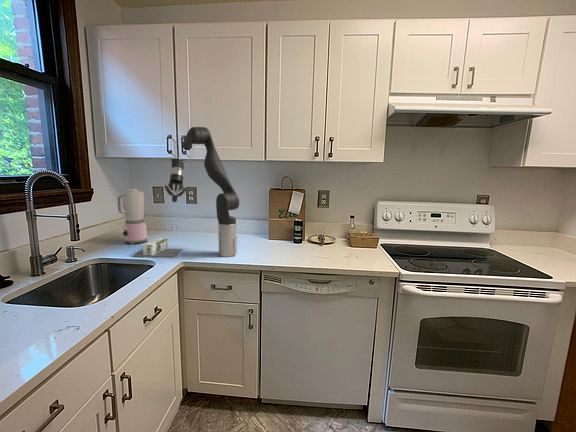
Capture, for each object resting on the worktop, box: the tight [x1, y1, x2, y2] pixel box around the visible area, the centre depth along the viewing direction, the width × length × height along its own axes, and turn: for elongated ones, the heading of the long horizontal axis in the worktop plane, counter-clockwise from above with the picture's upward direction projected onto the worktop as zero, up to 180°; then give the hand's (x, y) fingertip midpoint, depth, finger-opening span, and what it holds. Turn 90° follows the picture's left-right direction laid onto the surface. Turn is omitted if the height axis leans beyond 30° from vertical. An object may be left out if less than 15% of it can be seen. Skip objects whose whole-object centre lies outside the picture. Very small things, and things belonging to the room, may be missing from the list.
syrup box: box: [142, 237, 169, 256], centre depth 155 cm, size 6×6×14 cm
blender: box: [117, 188, 148, 246], centre depth 171 cm, size 16×12×32 cm
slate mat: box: [131, 248, 183, 259], centre depth 154 cm, size 21×14×1 cm, turn 91°
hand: (174, 201), depth 170 cm, fingers closed
